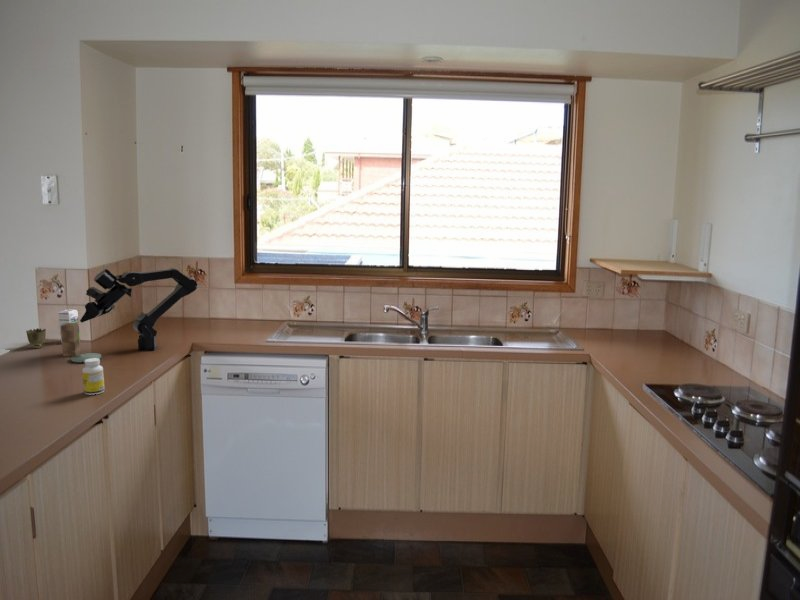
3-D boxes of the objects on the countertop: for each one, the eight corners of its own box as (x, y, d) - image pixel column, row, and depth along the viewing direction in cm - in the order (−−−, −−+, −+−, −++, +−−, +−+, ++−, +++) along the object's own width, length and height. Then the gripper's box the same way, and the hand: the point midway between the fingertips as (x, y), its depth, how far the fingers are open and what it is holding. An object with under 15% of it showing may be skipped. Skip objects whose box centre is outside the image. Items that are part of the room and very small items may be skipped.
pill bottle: (88, 389, 231) (85, 357, 229) (107, 389, 232) (105, 357, 230) (81, 395, 225) (78, 362, 223) (100, 395, 225) (98, 362, 223)
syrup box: (72, 343, 296) (69, 311, 293) (60, 343, 297) (57, 311, 294) (80, 340, 301) (78, 309, 299) (69, 340, 302) (66, 308, 300)
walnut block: (80, 353, 280) (77, 322, 278) (75, 356, 275) (73, 325, 273) (67, 353, 280) (65, 323, 277) (63, 356, 275) (60, 325, 272)
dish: (105, 356, 275) (104, 352, 275) (95, 363, 265) (95, 359, 264) (77, 356, 274) (77, 353, 274) (67, 363, 264) (66, 360, 263)
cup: (51, 346, 290) (49, 328, 289) (37, 350, 284) (35, 332, 282) (38, 345, 293) (36, 327, 291) (23, 349, 286) (22, 330, 285)
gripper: (107, 279, 284) (80, 302, 285) (90, 283, 266) (61, 308, 266) (126, 298, 286) (99, 322, 286) (110, 303, 267) (81, 329, 268)
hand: (85, 320), depth 277 cm, fingers open, 9 cm apart
